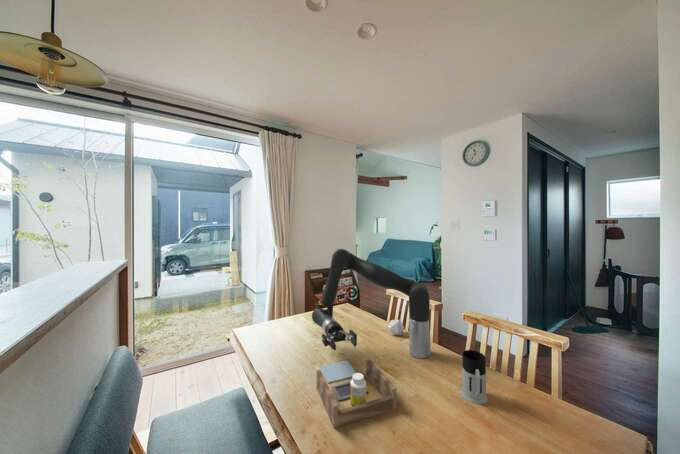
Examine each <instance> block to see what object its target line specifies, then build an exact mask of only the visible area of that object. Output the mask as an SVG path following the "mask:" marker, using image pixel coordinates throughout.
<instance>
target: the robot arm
mask: <svg viewBox="0 0 680 454" xmlns="http://www.w3.org/2000/svg"><path fill="white" fill-rule="evenodd" d="M344 269H349V270H350V271H351V270H352V271H353V272H355V273H357V274H358V275H360V276H362V277H363V278H364V279H366V280H368V281H370V283H372V284H375V285H377V286H380V287H382V288H385V289H390V290H395V291H398V292H401V293H403V294H404V295H406V296H408V314H409V315H408V319H409V321H408V325H409V326H408V327H409V329H408V330H409V354H410V355H411V356H412V357H414V358H417V359H427V358H431V355H432V354H431V336H430V312H431V311H430V307H431V306H430V304H431V303H430V293H429V290H428V288H427V287H426V286H425V285H424V284H422V283H419V282H416V281H414V280H410V279H408V278H406V277H403V276H401V275H399V274H398V273H395V272H393V271H392V270H390V269H387V268H386V267H383V266H381V265H379V264H377V263H375V262H374V263H373V262H371V261H368V260H364V259H362V258H360V257H358V256H356V255H355V254H353V253H351V252H350V251H348V250H347V249H343V248H339V249H336V250H334V252H333V253H332V256H331V263H330V267H329V273H328V277H327V280H326V283H325V286H324V289H323V291H322V294H321V295H322V296H321V298H320V303H321V305H324V306H325V307H326V309H324V308H319V307H317V308H315V309H313V311H312V313H311V319H312V321H313V322H314V323H315V324H316V326H319V327H321V329H322V330H323V333H322V334H321V342H322V344H323V347H330V348H331V349H332V350H333V351H336V350H337V344H336V343H338V342H344V343H351V345H352V346H353V347H354V348H355V347H357V345H358V334H357V333H356V332H355V331H354V330H352V329H349V330H348V331H345V330H344V328H343V327H342V326H341V324H340V323H339V322H338V321H337V320H336V319H335V318H334V317H333V316H334V315H333V313H334V305H335V304H334V303H335V300H336V298H337V294H338V291H339V285H340V281H341V277H342V274H343V272H344Z"/></svg>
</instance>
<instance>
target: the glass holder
mask: <svg viewBox="0 0 680 454" xmlns="http://www.w3.org/2000/svg"><path fill="white" fill-rule="evenodd" d="M486 358H487V357H486V356H485V355H484V354H483V353H482V352H479V351H476V350H472V349H471V350H470V349H466V350H463V351H462V359H461V361H462V363H461V390H460V395H461V397H462V398H463V399H464V400H466V401H468V402H469V403H472V404H475V405H484V404H486V403H488V400H489V398H488V395H487V369H486V367H487V365H486Z"/></svg>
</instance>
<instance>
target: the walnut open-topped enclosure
mask: <svg viewBox="0 0 680 454" xmlns="http://www.w3.org/2000/svg"><path fill="white" fill-rule="evenodd" d="M365 368H366V370H365V372H366V373H365V374H366V377H367V378H368V379H369V381H370V382H371V384H373V386H374V387H375V389H377V391H378V393H380V395H381V396H382V397H380V398H377V399H374V400H369V401H366V403H363V404H359V405H356V406H353V407H352V406H349V407H346V408H344V409H339V405H338V403H337V401H336V399H335V397H334V394H333V392H332V390H331V388H330V386H329V384H328V382H327V380H326V378H325V376H324V374H323V372H322V370H321V369H317V370H315V372H316V375H315V376H316V391H317V393H318V395H319V397H320V399H321V402H322V404H323V407H324V409H325V412H326V414H327V417H328V418H329V421H330V423H331V426H332V428H333V429H336V428H340V427H342V426H346V425H349V424H353V423H355V422H358V421H362V420H365V419H367V418H371V417H374V416H378V415H380V414H383V413H386V412H390V411H393V410H396V409H397V408H398V407H397V405H398V401H397V399H398V398H397V396H398V395H397V393H398V391H397V390H398V389H397V387H396V386H395V385H394V384H393V382H391V381H390V379H389V378H388V377H387V375H386V374H384V372H383V371H382V370H381V369H380V368H379V367H378V366H377V365H376V364H375V362H374V361H373V360H372V359H371V358H369V357H368V358H366V359H365Z"/></svg>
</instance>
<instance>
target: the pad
mask: <svg viewBox="0 0 680 454" xmlns="http://www.w3.org/2000/svg"><path fill="white" fill-rule="evenodd" d="M319 368H320V370H321V372H322V374H323V376H324V378H325V380H326V383H327V384H332V383H335V382H339V381H343V380H347V379H348V380H349V379H352V376H353V374H355V373H357V372H356V370H355V369H354V368H353V366H352V364H350V362H349V361H348V360H342V361H338V362H333V363H327V364H324V365H323V364H322V365H320V366H319Z"/></svg>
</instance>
